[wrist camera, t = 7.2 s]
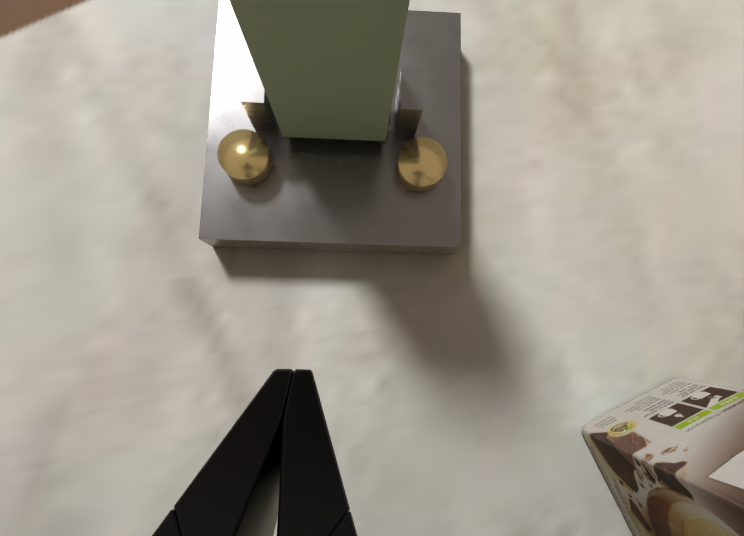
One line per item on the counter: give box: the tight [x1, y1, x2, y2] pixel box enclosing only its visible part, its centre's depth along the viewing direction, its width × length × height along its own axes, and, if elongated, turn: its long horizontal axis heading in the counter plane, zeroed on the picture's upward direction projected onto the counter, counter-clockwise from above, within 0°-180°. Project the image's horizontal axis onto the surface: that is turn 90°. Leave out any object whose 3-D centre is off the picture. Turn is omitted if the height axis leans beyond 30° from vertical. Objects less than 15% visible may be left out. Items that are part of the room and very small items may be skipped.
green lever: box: [229, 0, 409, 141], centre depth 15 cm, size 3×5×13 cm, turn 88°
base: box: [199, 0, 461, 254], centre depth 21 cm, size 13×13×5 cm
